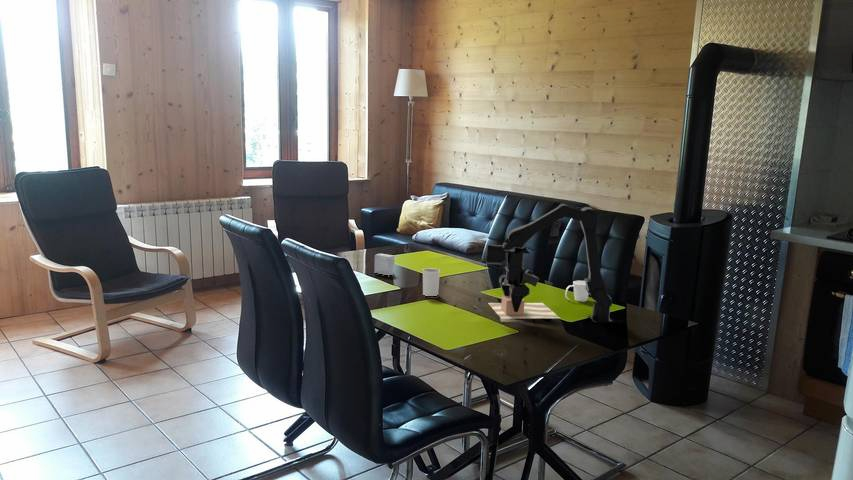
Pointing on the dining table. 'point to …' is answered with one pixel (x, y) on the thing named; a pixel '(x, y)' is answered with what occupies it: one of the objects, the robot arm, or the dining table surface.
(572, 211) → the robot arm
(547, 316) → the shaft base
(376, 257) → the medicine box
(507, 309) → the pink block
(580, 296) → the cup
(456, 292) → the dining table surface
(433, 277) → the drinking glass
